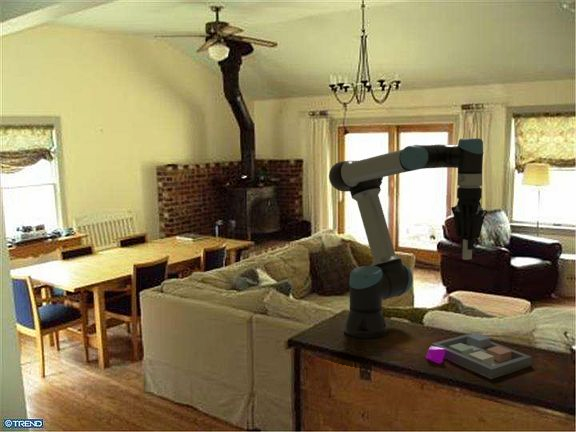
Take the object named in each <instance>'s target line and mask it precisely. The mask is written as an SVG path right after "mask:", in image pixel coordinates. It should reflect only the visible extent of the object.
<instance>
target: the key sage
mask: <svg viewBox="0 0 576 432" xmlns="http://www.w3.org/2000/svg"><path fill="white" fill-rule="evenodd" d="M449 349H451V350H453V351H456V352H458V353H461V354H463V355H465V356H468V357H469V354H471V353H473V348H472V347H470V346H467V345H465V344H462V343H458V344H455V345H451V346H449Z"/></svg>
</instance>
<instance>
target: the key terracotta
mask: <svg viewBox="0 0 576 432" xmlns="http://www.w3.org/2000/svg"><path fill="white" fill-rule="evenodd" d="M486 353H487V354H490V355H492V356H494V360H496V361H498V362H502V361H506V360H509V359H511V353H512V351H510V350H507V349H505V348H502V347H499V346H495V347H492V348H488V349H487V351H486Z"/></svg>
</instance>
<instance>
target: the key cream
mask: <svg viewBox="0 0 576 432" xmlns="http://www.w3.org/2000/svg"><path fill="white" fill-rule="evenodd" d="M469 357H470V358H472V359H475V360H477V361H479V362H482V363H484V364H486V365H493V364H494V356H492V355H490V354H487V353H485V352H482V351H478V352H474V353H471V354H469Z"/></svg>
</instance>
